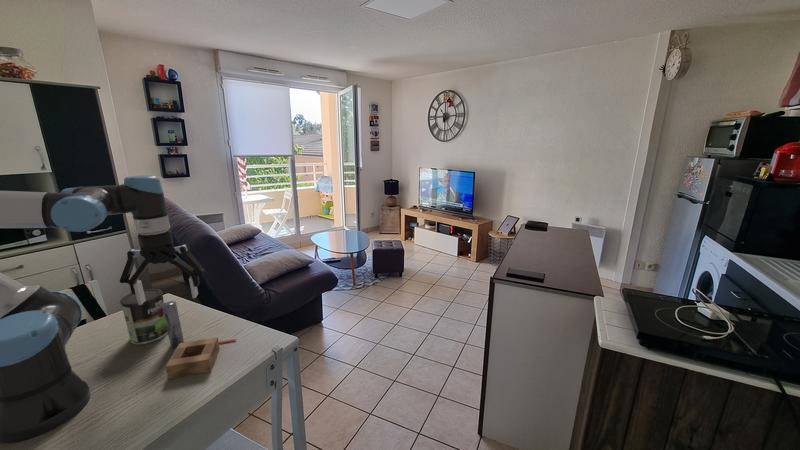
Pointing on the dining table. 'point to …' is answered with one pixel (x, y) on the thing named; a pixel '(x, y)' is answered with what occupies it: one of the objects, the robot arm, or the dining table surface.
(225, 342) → the thin red bar
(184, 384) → the dining table surface
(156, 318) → the coffee can
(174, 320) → the steel round rod
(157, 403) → the dining table surface
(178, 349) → the wooden square frame
